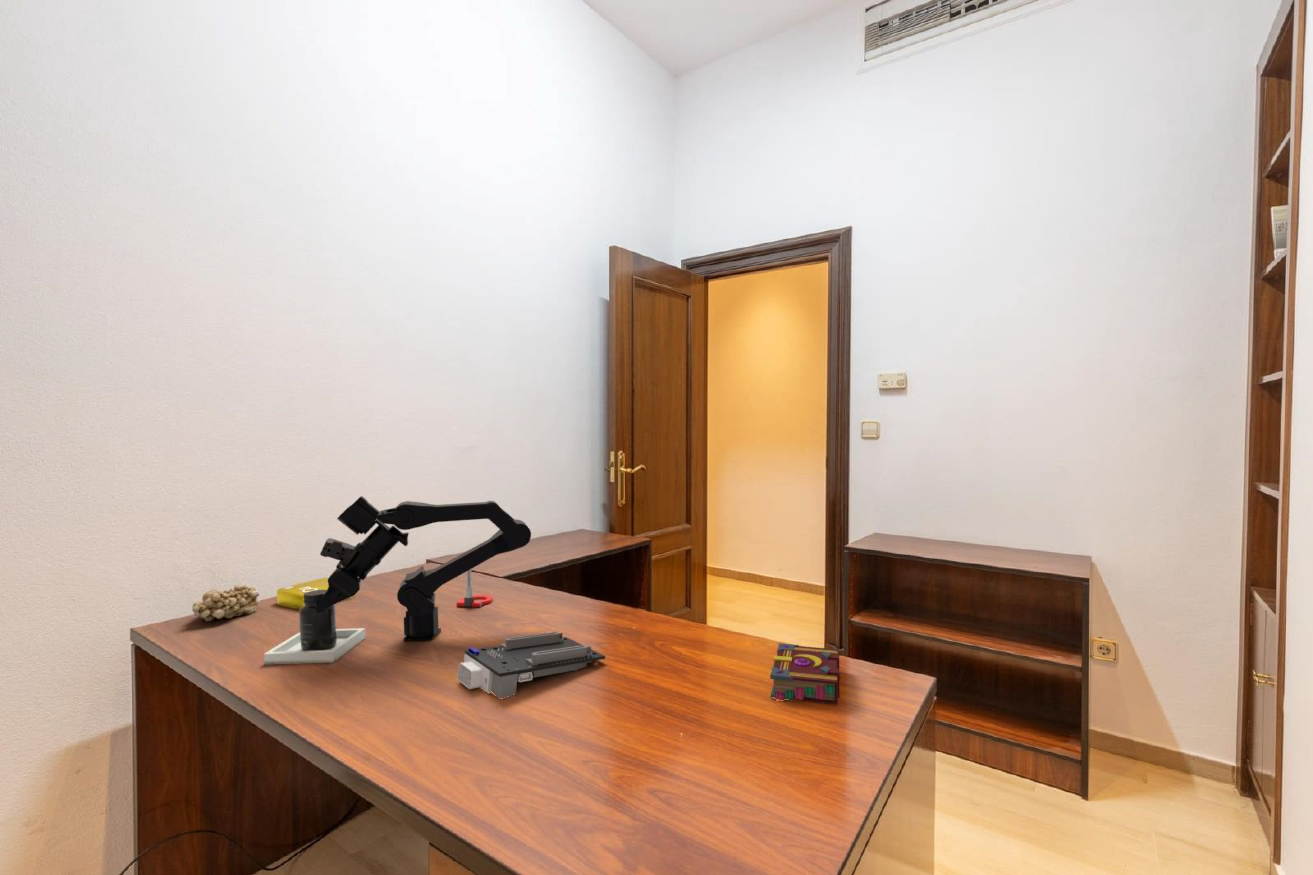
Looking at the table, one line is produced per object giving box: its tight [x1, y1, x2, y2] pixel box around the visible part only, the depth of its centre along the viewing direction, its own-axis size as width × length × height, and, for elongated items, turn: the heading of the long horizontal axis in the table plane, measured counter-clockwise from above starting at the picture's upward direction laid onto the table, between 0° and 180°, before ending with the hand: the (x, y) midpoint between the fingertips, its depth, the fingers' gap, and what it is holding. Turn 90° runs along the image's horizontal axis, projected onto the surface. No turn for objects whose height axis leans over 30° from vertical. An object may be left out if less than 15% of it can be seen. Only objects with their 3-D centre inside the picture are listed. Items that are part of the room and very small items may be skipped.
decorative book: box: [769, 642, 840, 706], centre depth 107 cm, size 11×16×5 cm
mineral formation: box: [192, 583, 261, 622], centre depth 153 cm, size 8×13×15 cm
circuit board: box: [456, 631, 606, 700], centre depth 116 cm, size 25×7×15 cm
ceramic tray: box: [263, 627, 366, 666], centre depth 129 cm, size 14×14×2 cm
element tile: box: [276, 577, 356, 611], centre depth 168 cm, size 15×15×5 cm
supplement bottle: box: [298, 590, 337, 651], centre depth 129 cm, size 7×7×12 cm
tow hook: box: [456, 569, 494, 609], centre depth 162 cm, size 8×13×9 cm
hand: (320, 604), depth 129 cm, fingers open, 9 cm apart
